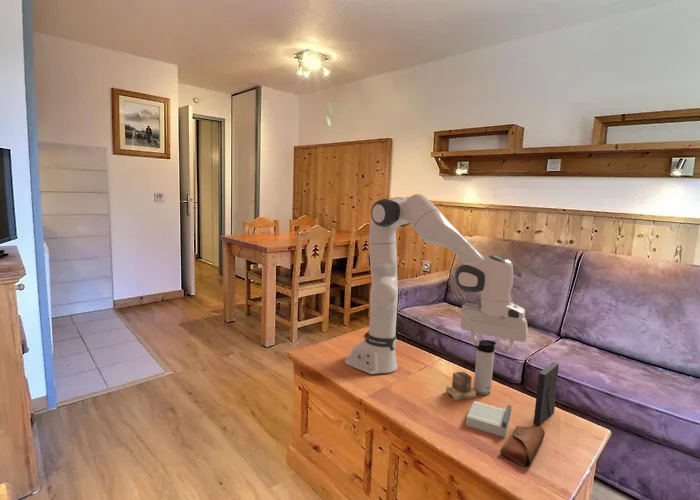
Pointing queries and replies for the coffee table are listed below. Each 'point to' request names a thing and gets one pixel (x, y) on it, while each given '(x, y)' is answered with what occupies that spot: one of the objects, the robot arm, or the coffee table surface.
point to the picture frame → (546, 393)
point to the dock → (489, 418)
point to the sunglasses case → (523, 444)
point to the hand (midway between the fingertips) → (491, 348)
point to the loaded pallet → (461, 387)
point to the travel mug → (484, 367)
